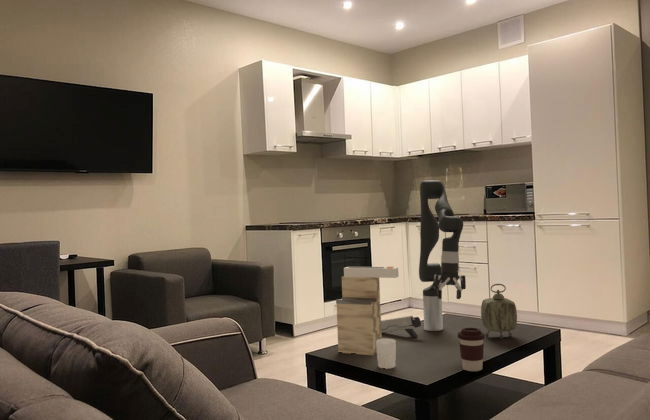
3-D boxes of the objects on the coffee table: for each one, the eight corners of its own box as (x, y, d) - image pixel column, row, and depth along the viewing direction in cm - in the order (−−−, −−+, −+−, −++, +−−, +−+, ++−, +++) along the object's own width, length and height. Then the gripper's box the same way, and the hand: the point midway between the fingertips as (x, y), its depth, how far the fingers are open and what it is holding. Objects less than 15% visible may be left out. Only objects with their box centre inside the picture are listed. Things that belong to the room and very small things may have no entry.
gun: (422, 336, 249) (417, 315, 250) (378, 342, 264) (373, 322, 265) (424, 335, 251) (419, 314, 252) (380, 341, 266) (376, 321, 267)
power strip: (347, 275, 241) (347, 265, 241) (398, 276, 231) (398, 266, 231) (344, 276, 237) (343, 266, 237) (395, 277, 228) (395, 267, 228)
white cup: (373, 365, 211) (372, 340, 211) (390, 362, 214) (389, 337, 214) (382, 370, 204) (381, 344, 203) (400, 367, 207) (399, 341, 207)
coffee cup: (456, 365, 206) (455, 326, 206) (482, 364, 206) (480, 326, 206) (462, 373, 196) (460, 332, 196) (489, 372, 196) (487, 332, 196)
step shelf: (348, 345, 242) (345, 275, 242) (381, 348, 236) (379, 276, 235) (338, 352, 231) (335, 279, 231) (372, 355, 224) (370, 280, 224)
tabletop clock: (512, 334, 250) (510, 282, 250) (519, 339, 241) (517, 284, 241) (481, 335, 251) (479, 283, 250) (487, 340, 241) (485, 285, 241)
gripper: (461, 261, 238) (460, 298, 237) (431, 260, 235) (430, 297, 234) (468, 262, 230) (468, 300, 230) (438, 261, 228) (437, 299, 227)
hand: (449, 298), depth 232 cm, fingers open, 8 cm apart
